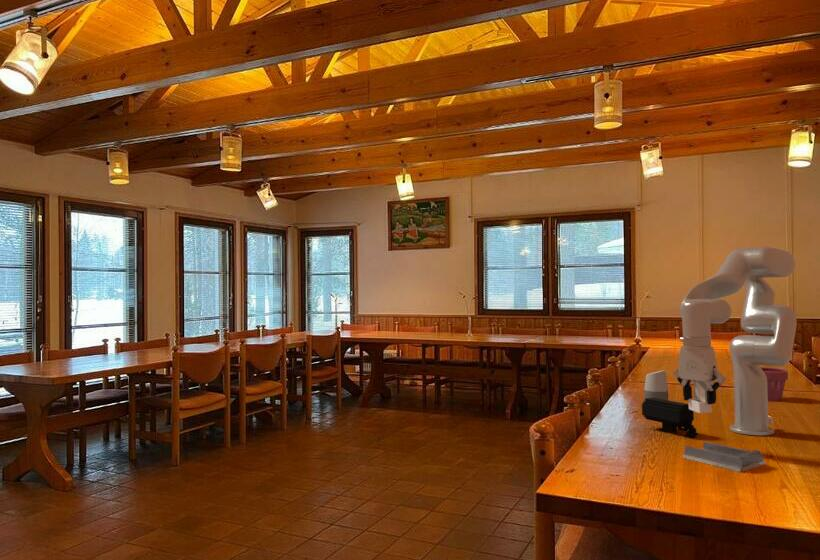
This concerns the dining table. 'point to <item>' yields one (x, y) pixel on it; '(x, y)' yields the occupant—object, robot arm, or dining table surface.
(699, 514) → the dining table surface
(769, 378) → the plant pot
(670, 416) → the security camera
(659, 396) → the smart speaker
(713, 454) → the rail board
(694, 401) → the white wedge bracket
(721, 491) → the dining table surface
